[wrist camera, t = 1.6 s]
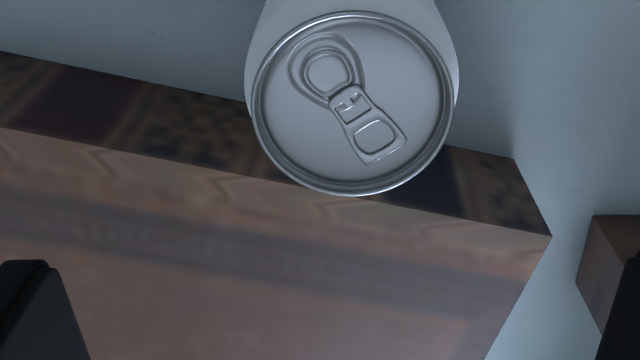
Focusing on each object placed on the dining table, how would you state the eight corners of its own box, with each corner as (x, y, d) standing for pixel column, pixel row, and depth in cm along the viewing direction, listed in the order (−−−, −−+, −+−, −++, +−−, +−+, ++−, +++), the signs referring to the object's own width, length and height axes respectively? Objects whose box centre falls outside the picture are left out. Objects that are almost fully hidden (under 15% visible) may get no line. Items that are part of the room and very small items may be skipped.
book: (-40, 42, 28) (-134, 100, 22) (513, 159, 30) (552, 236, 25) (-1, 371, 41) (-54, 460, 35) (385, 433, 43) (392, 524, 38)
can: (367, -118, 24) (389, -63, 14) (445, 12, 26) (512, 138, 16) (245, -23, 26) (185, 85, 16) (328, 88, 28) (324, 241, 18)
